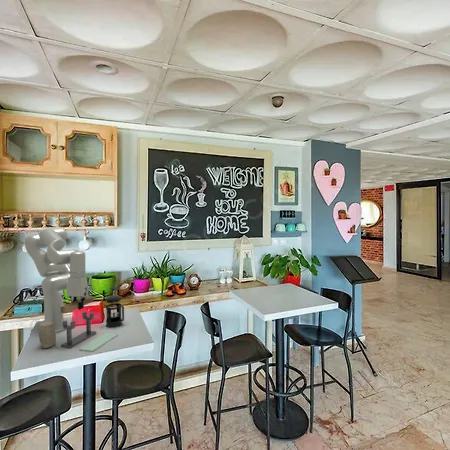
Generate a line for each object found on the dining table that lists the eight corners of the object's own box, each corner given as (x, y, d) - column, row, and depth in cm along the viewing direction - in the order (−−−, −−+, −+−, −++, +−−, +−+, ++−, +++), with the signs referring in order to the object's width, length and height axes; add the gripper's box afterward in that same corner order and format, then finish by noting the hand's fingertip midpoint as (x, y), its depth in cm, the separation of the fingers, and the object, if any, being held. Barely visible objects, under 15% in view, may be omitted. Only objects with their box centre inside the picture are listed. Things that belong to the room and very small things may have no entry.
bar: (60, 312, 148) (60, 306, 148) (88, 301, 167) (88, 295, 167) (65, 313, 147) (65, 307, 147) (93, 301, 166) (93, 296, 166)
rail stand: (60, 347, 149) (60, 322, 149) (87, 332, 167) (86, 310, 167) (70, 348, 147) (69, 323, 147) (96, 333, 166) (95, 311, 165)
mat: (79, 350, 146) (79, 348, 145) (105, 334, 165) (105, 333, 165) (92, 351, 143) (92, 350, 143) (117, 335, 163) (117, 334, 163)
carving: (42, 344, 152) (41, 321, 152) (58, 343, 154) (57, 320, 153) (37, 350, 146) (36, 326, 145) (54, 348, 148) (53, 324, 147)
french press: (101, 327, 175) (100, 288, 175) (110, 321, 185) (110, 285, 184) (119, 328, 173) (118, 289, 172) (127, 322, 182) (127, 286, 181)
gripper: (59, 274, 155) (59, 309, 156) (85, 277, 151) (85, 312, 151) (70, 272, 162) (70, 304, 163) (95, 274, 158) (95, 307, 159)
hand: (78, 308), depth 157 cm, fingers closed on bar, 3 cm apart
